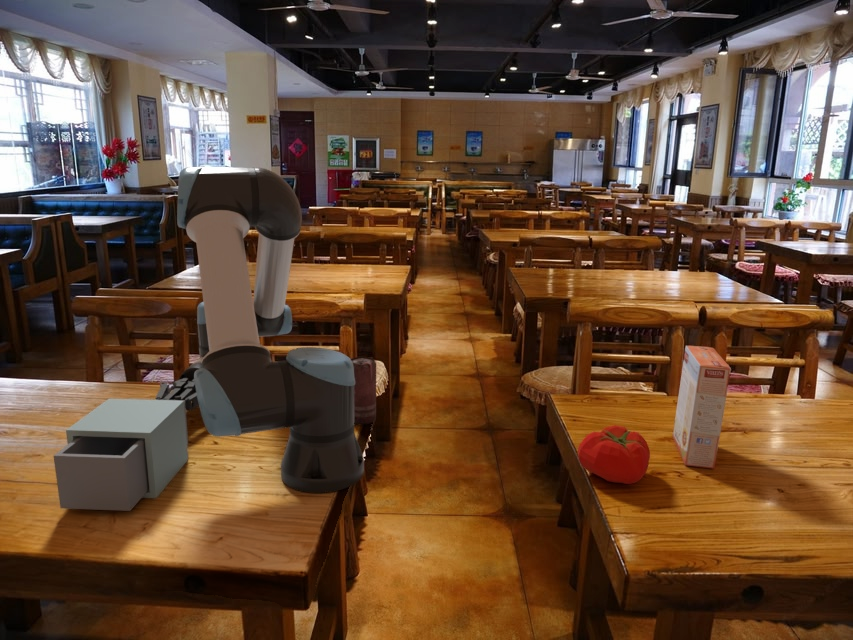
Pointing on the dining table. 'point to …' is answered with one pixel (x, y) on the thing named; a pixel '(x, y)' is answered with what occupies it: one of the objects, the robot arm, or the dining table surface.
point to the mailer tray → (103, 472)
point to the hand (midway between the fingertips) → (157, 418)
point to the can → (364, 390)
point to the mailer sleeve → (142, 433)
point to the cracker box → (701, 406)
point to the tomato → (615, 454)
